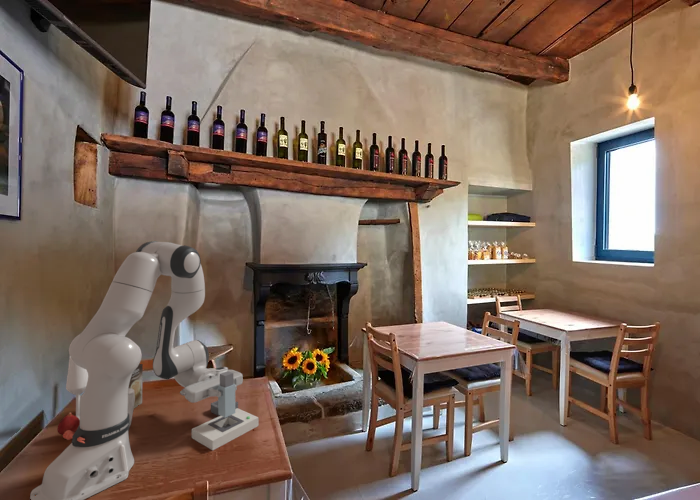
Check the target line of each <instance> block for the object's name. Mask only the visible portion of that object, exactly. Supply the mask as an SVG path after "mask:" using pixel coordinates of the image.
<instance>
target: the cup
mask: <svg viewBox="0 0 700 500" xmlns="http://www.w3.org/2000/svg"><path fill="white" fill-rule="evenodd" d="M134 402H135V393H134V389H131V388H128V414H129V421H130V426H131V425H132V420H133V413H134V409H135V408H134ZM133 408H134V409H133Z"/></svg>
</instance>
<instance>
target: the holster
mask: <svg viewBox="0 0 700 500" xmlns="http://www.w3.org/2000/svg"><path fill="white" fill-rule="evenodd" d="M237 408H238V409H239V401H235V409H237ZM210 413H211V414H214V415H215V416H217V417H219V416H221V415H219V414H218V400H216V401H213V402H210Z"/></svg>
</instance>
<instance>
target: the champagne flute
mask: <svg viewBox="0 0 700 500" xmlns="http://www.w3.org/2000/svg"><path fill="white" fill-rule="evenodd" d="M87 381H88V372H87V370H86V369H84V368H82V367H79V366H78V365H76V364H75V363H74V361H73V360H72V358H71V357H70V356H69V359H68V368H67V375H66V383H65V384H66V385H65V388H66V391H67V392H69V393H70V394H72V395H74V396H75V416H76V417H78V418H79V420H80V397H81V395H82V394H83V393H84V392H85V389H86V385H87Z"/></svg>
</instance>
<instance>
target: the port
mask: <svg viewBox="0 0 700 500" xmlns="http://www.w3.org/2000/svg"><path fill="white" fill-rule="evenodd" d="M259 422H260V421H259V417H258V416H256V415H254V414H252V413H249V412H247V411H244V409H243V410H242V409H240V408H239V407H238V408H237V409H235V413H234V414H232V415H230V416H228V417H226V418H225V417H223V416H217V417H214V418H213V419H210V420H208V421H206V422H204V423H202V424H200V425H197V426H195V427H193V428H191V439H193V440H194V441H196V442H198V443H199V444H201V445H202V446H204V447H206V448H208V449H209V450H211V451H215V450H216V449H218V448H219V447H222V446H224V445H226V444H228V443H229V442H231V441H233V440H235V439H237V438H238V437H241V436H242V435H245V434H246V433H248V432H250V431H251V430H253V429H255V428H257V427H259V425H260V424H259Z"/></svg>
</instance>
